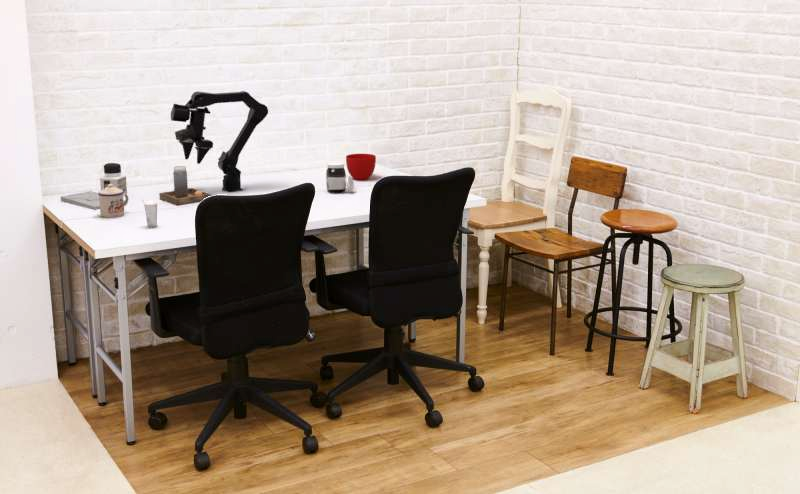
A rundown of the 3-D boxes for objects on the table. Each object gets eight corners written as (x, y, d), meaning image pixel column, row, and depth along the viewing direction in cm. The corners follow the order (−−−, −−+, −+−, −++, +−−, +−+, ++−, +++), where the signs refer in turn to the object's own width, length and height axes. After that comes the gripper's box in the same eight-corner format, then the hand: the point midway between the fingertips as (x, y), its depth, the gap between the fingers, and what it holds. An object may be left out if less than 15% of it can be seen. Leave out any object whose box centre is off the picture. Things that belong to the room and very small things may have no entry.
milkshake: (144, 224, 372) (142, 197, 369) (159, 224, 372) (157, 197, 370) (142, 227, 368) (140, 200, 365) (157, 227, 368) (156, 199, 366)
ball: (200, 197, 413) (200, 189, 412) (204, 198, 411) (203, 190, 410) (193, 198, 411) (192, 190, 410) (197, 199, 409) (196, 191, 408)
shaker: (180, 196, 415) (178, 165, 412) (190, 197, 413) (189, 166, 409) (172, 198, 410) (170, 167, 407) (182, 200, 408) (180, 168, 405)
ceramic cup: (381, 174, 460) (381, 152, 458) (371, 182, 444) (371, 159, 442) (353, 173, 463) (352, 151, 460) (342, 181, 447) (342, 158, 445)
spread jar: (324, 189, 431) (324, 161, 428) (351, 188, 433) (351, 160, 430) (330, 195, 419) (329, 167, 416) (357, 194, 422) (357, 165, 419)
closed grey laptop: (95, 211, 395) (125, 205, 405) (95, 206, 394) (125, 200, 404) (60, 201, 410) (91, 195, 420) (60, 195, 409) (90, 190, 419)
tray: (192, 194, 421) (192, 188, 421) (210, 200, 411) (210, 194, 410) (159, 199, 413) (159, 193, 412) (177, 205, 402) (176, 199, 401)
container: (118, 197, 416) (116, 165, 412) (101, 196, 417) (98, 164, 414) (127, 193, 423) (125, 162, 419) (109, 192, 424) (107, 161, 421)
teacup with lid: (109, 219, 380) (107, 188, 377) (94, 215, 386) (92, 184, 383) (136, 213, 389) (134, 182, 386) (121, 209, 395) (119, 179, 392)
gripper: (167, 118, 418) (163, 156, 421) (191, 126, 404) (187, 165, 408) (191, 119, 425) (187, 157, 428) (215, 127, 412) (211, 166, 415)
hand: (192, 161), depth 420 cm, fingers open, 9 cm apart
